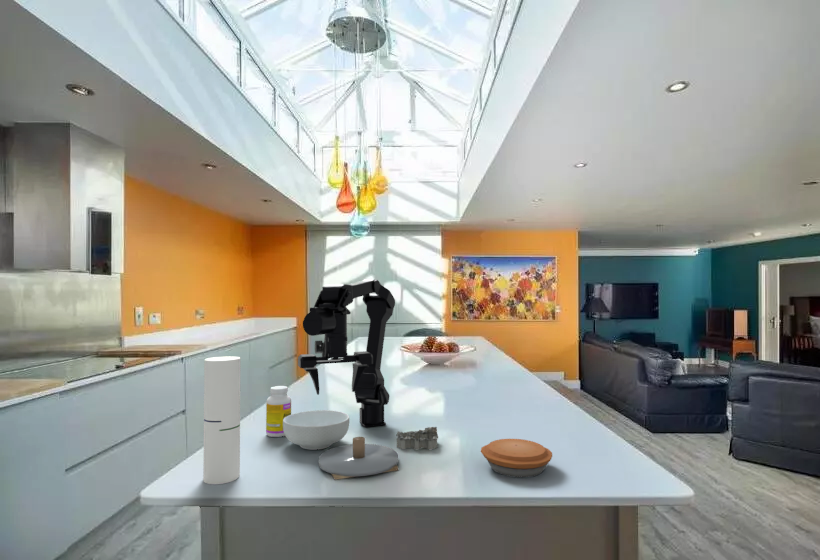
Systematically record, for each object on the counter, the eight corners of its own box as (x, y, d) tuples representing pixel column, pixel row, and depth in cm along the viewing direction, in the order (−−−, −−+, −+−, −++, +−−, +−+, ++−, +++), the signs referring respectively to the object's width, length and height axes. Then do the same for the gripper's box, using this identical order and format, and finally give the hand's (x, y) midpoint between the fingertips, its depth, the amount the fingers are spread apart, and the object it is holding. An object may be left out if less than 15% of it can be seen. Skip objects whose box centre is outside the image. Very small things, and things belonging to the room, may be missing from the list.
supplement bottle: (284, 438, 124) (284, 390, 124) (261, 437, 125) (261, 389, 126) (295, 431, 131) (295, 385, 131) (273, 430, 132) (273, 384, 132)
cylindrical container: (210, 471, 101) (211, 356, 102) (243, 470, 102) (244, 356, 102) (198, 485, 94) (199, 361, 95) (234, 483, 94) (235, 360, 95)
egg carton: (438, 442, 121) (438, 426, 121) (437, 451, 114) (437, 435, 114) (398, 440, 123) (398, 425, 123) (394, 450, 115) (394, 433, 115)
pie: (566, 468, 102) (565, 445, 103) (528, 488, 92) (527, 463, 92) (507, 451, 114) (506, 430, 114) (467, 467, 103) (467, 445, 103)
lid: (384, 444, 117) (384, 424, 117) (409, 469, 100) (409, 446, 100) (312, 453, 111) (312, 432, 111) (326, 481, 94) (326, 456, 94)
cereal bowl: (362, 444, 119) (362, 416, 119) (308, 461, 107) (308, 430, 107) (323, 431, 131) (323, 405, 131) (270, 445, 119) (270, 417, 119)
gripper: (362, 329, 131) (362, 384, 131) (295, 331, 125) (295, 389, 124) (373, 332, 121) (373, 392, 120) (300, 334, 114) (300, 398, 114)
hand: (335, 393), depth 120 cm, fingers open, 9 cm apart
